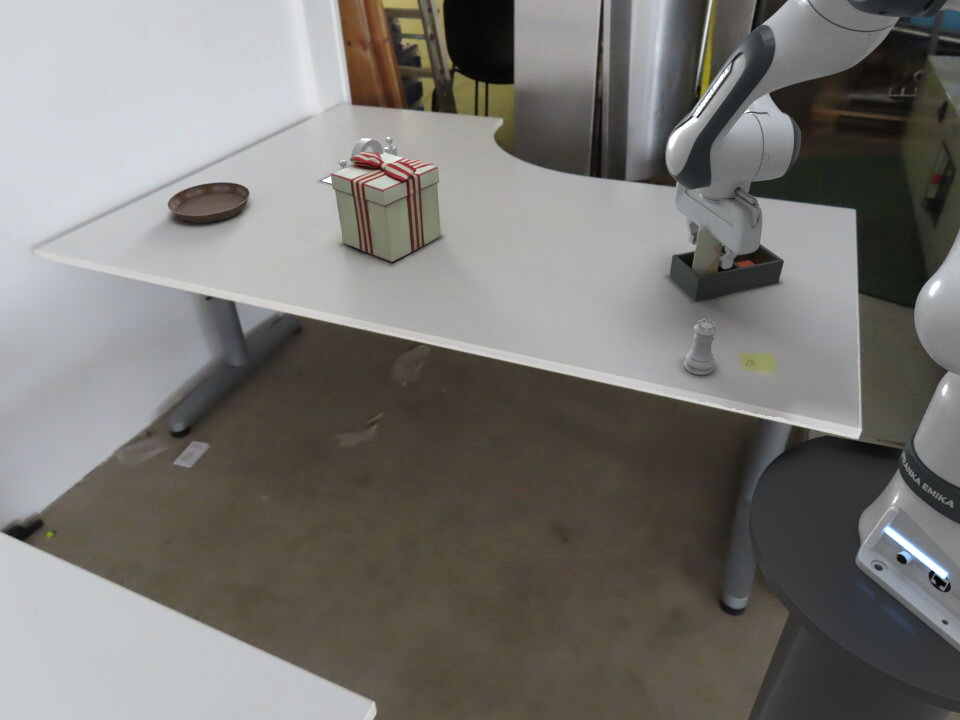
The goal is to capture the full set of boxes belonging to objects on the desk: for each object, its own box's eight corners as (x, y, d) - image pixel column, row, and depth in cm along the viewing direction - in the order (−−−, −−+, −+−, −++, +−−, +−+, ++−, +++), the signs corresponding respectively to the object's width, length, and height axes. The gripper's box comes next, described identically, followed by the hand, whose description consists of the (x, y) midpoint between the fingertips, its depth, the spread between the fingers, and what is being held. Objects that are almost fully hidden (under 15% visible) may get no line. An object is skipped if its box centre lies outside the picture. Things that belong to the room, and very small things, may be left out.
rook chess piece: (695, 355, 108) (703, 311, 103) (720, 368, 105) (729, 323, 100) (677, 366, 106) (684, 322, 101) (701, 380, 103) (710, 335, 98)
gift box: (454, 229, 146) (449, 148, 136) (397, 266, 134) (387, 180, 124) (391, 211, 154) (382, 134, 144) (333, 245, 142) (318, 163, 132)
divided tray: (778, 283, 124) (784, 260, 121) (695, 300, 120) (698, 278, 118) (749, 260, 131) (753, 239, 128) (669, 277, 127) (672, 255, 124)
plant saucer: (267, 207, 158) (264, 194, 156) (196, 234, 148) (191, 221, 146) (227, 188, 168) (223, 175, 167) (157, 212, 158) (153, 199, 156)
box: (713, 291, 122) (725, 233, 115) (688, 287, 123) (698, 230, 116) (716, 276, 125) (726, 219, 119) (691, 273, 127) (700, 217, 120)
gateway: (346, 186, 166) (341, 153, 161) (339, 184, 167) (333, 152, 162) (397, 159, 179) (394, 128, 174) (390, 158, 180) (387, 127, 175)
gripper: (780, 199, 105) (761, 279, 114) (705, 154, 121) (693, 227, 129) (743, 205, 104) (727, 286, 112) (673, 159, 120) (663, 233, 128)
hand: (709, 254), depth 121 cm, fingers open, 8 cm apart
